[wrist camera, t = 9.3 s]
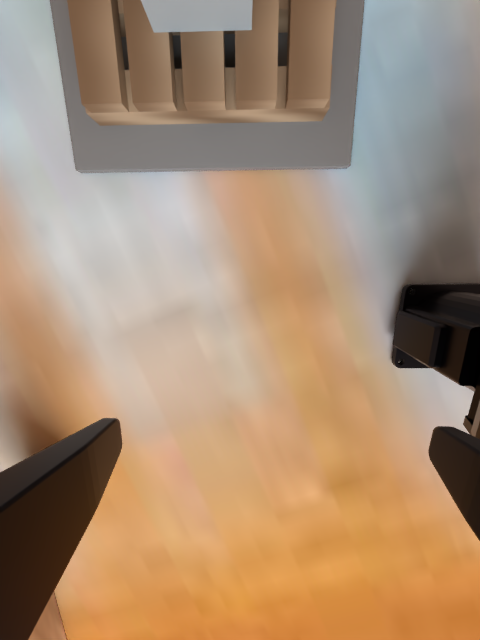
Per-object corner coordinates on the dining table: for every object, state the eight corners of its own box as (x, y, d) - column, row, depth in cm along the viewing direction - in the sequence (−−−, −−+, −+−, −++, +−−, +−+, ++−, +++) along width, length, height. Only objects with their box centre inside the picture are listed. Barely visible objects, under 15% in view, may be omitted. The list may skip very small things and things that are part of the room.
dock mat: (370, -124, 14) (376, -141, 13) (346, 168, 17) (350, 165, 17) (39, -112, 14) (30, -127, 13) (81, 172, 17) (75, 170, 17)
